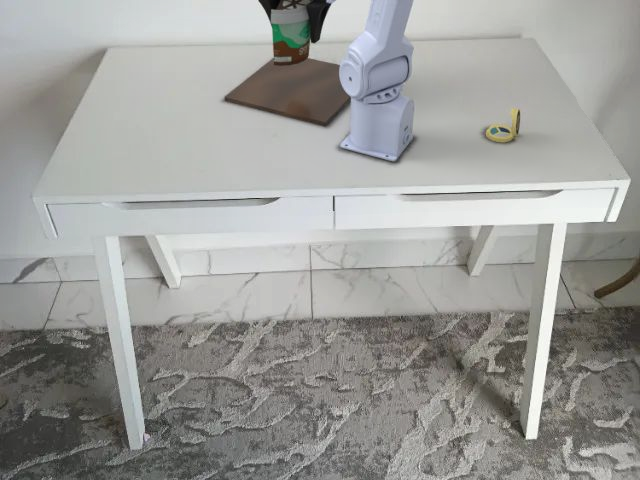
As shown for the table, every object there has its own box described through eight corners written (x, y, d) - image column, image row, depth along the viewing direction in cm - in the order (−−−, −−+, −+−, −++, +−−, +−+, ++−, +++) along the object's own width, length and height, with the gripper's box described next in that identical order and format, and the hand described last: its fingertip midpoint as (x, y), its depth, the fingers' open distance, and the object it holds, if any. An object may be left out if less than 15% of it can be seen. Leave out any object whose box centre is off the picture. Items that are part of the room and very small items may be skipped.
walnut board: (373, 76, 123) (373, 72, 122) (325, 126, 109) (325, 122, 109) (280, 55, 130) (280, 51, 129) (224, 100, 116) (224, 96, 116)
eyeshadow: (488, 125, 109) (493, 99, 106) (519, 131, 107) (525, 104, 104) (483, 139, 106) (488, 112, 103) (514, 145, 104) (520, 118, 101)
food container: (307, 73, 110) (308, 15, 103) (271, 69, 111) (270, 10, 104) (321, 42, 119) (323, -13, 112) (288, 39, 120) (288, -17, 113)
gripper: (240, -45, 103) (248, 38, 112) (322, -31, 98) (323, 54, 107) (263, -57, 108) (269, 23, 117) (343, -45, 103) (342, 37, 112)
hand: (296, 37), depth 113 cm, fingers closed on food container, 7 cm apart
